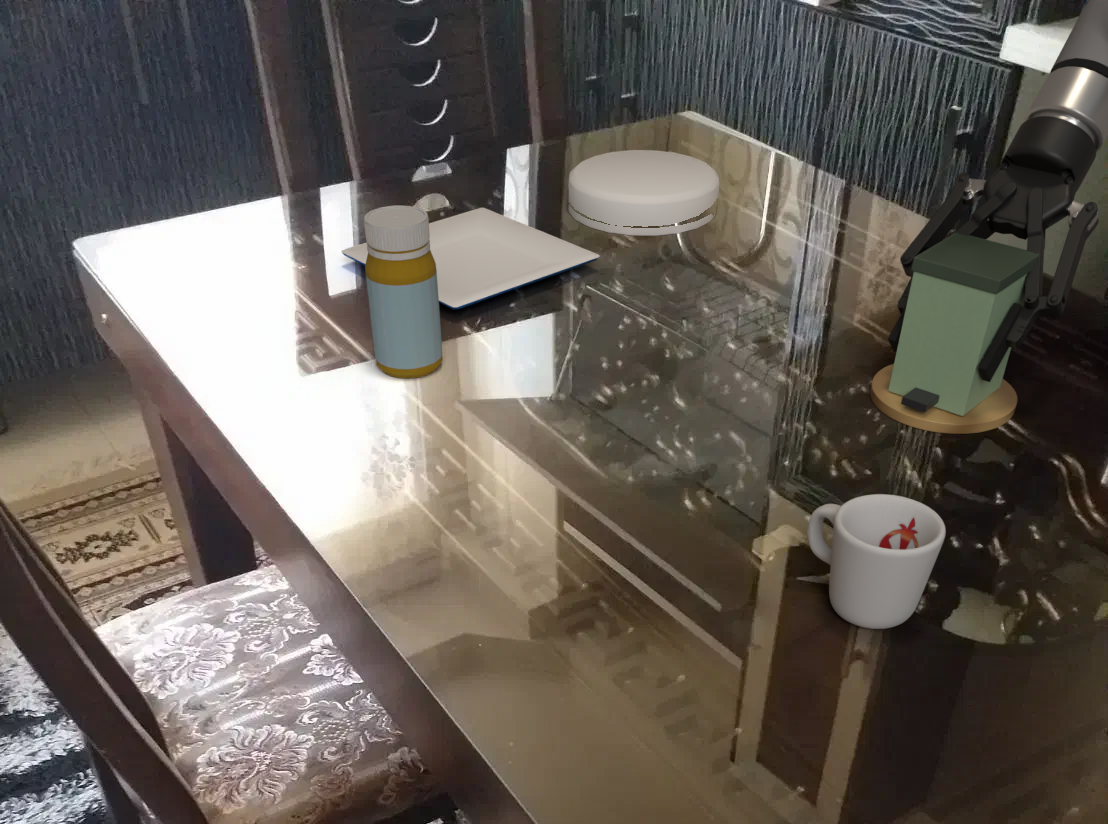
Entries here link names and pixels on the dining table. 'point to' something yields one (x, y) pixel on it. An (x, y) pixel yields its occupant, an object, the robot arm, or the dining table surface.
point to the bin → (956, 321)
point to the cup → (877, 556)
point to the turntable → (938, 420)
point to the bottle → (402, 292)
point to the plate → (490, 256)
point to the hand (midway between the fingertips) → (938, 360)
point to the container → (642, 192)
